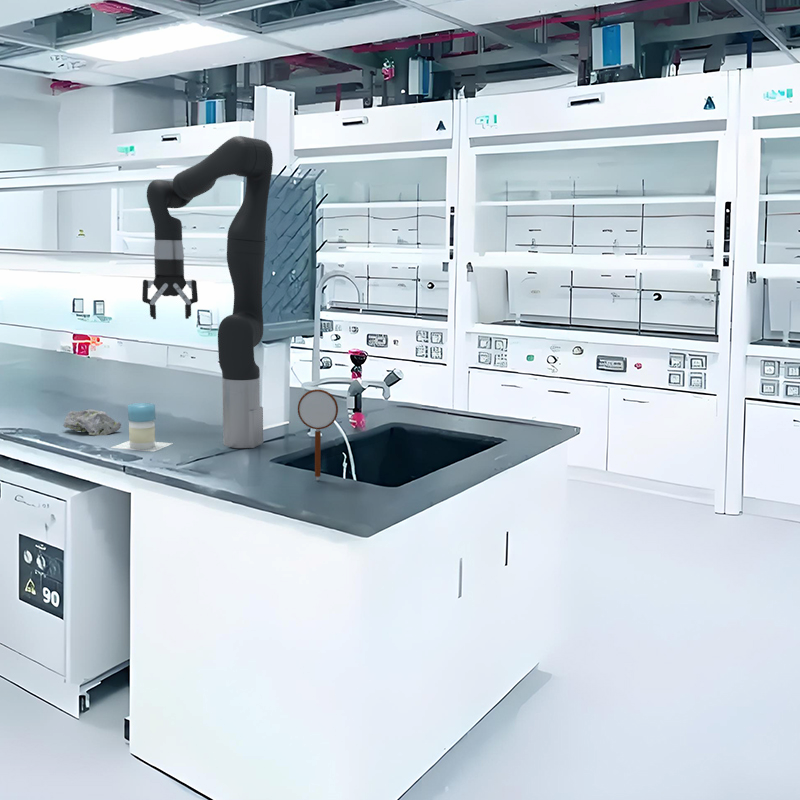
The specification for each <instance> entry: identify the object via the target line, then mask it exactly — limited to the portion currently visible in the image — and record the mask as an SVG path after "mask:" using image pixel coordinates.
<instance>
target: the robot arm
mask: <svg viewBox="0 0 800 800" xmlns="http://www.w3.org/2000/svg"><path fill="white" fill-rule="evenodd" d="M273 161H274V157H273V151H272V147H271V146H270V144H269V143H268V142H267V141H265V140H263V139H259V138H253V137H247V136H242V135H237V136H232V137H231V138H229V139H228V140H226V141H225V142H224V143H222V144H221V145H220V146H218V147H217V149H215V150H214V151H212V153H210V154H208V155H207V157H205V158H204V159H202V160H201V161H200V162H198V163H196V164H195V165H192V166H191V167H188V168H186V169H184V170H182V171H180V172H179V173H177V174H176V175H175V176H174V177H173V180H164V179H155V180H154V179H153V180H152V181H150V183H149V184H148V186H147V188H146V199H147V204H148V208H149V210H150V215H151V217H152V221H153V225H154V247H153V250H154V251H153V252H154V253H153V255H154V279H153V280H148V279H143V280H142V293H141V294H142V302H143V303H144V304H147V305H149V316H150V318H152V320H156V319H157V308H156V307H157V306H156V303H157V301H158V300H159V299H160V297H162V296H163V297H170V296H171V297H177V296H179V297H180V299H182V300H183V301H184V303H185V304H184V313H185V316H184V317H185V319H186V320H189V319H190V317H192V304H195V303H198V301H199V298H198V295H199V294H198V287H197V286H198V285H197V280H195V279H191V280H186V279H185V262H184V260H185V259H184V258H185V253H184V245H183V225H182V220H181V219H179V218H178V217H177V218H176V217H174V216H172V215H171V213H170V212H169V209H180V208H183V207H186V206H187V205H188V204H189V203H190V202H191V201H192V200H193V199H194V198H197V197H199V196H200V195H201V196H202V195H203V194H204V193H207V192H208V191H210V190H211V189H212V188H213V187H214V186H215V184H216V182H217V180H218V179H219V178H220V179H221V178H222V177H227V176H233V175H236V176H238V177H244V178H246V179H245V180H246V182H245V192H244V197H243V200H242V203H241V205H240V207H239V209H238V211H237V213H236V214H235V215H234V218H233V219H232V221H231V223H230V225H229V227H228V231H227V235H226V237H227V239H226V261H227V268H228V271H229V274H230V279H231V283H232V286H233V295H234V296H233V305H232V306H233V307H232V314H230V315H227V316H226V317H224V318H223V319H222V320H221V322H220V323H219V326H218V329H217V351H218V352H217V354H218V362H219V367H220V369H221V375H222V380H221V381H222V383H221V384H222V385H221V386H222V428H223V429H222V433H223V435H222V438H223V441H222V442H223V445H224V446H225V447H229V448H232V449H248V448H249V449H255V448H257V447H258V446H261V445H262V444H264V407H263V406H261V401H260V400H261V399H260V398H261V395H260V394H261V392H260V391H261V385H260V382H261V381H260V380H261V379H260V373H261V372H260V371H261V370H260V367H259V365H258V364H257V363H256V361H255V351H254V350H255V347H257V346H258V345H259V344H260V343H261V341H262V339H263V336H264V317H263V315H264V314H263V284H264V270H265V269H264V266H265V258H266V257H265V255H266V228H267V227H266V226H267V225H266V224H267V214H268V213H267V211H268V203H269V202H268V200H269V194H270V186H271V181H272V180H271V179H272V173H273V164H274V163H273ZM186 285H187V286H188V288H189V289H190V290H191V298H189V297H188V296H187V294H186V293H185V292H184V291H183V290H184V289H185V287H186ZM152 286H154V288H156V290H157V291H155V293H154V294H153V296H152V297H151V299H150V298H149V289H150V288H151V287H152Z"/></svg>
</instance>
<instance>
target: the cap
mask: <svg viewBox="0 0 800 800" xmlns="http://www.w3.org/2000/svg"><path fill="white" fill-rule="evenodd" d="M127 418H128V419H127V420H128V422H129V421H133V422H146V421H153V420H154V421H155V420H156V404H155V403H151V402H136V403H130V404H128V405H127Z"/></svg>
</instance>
